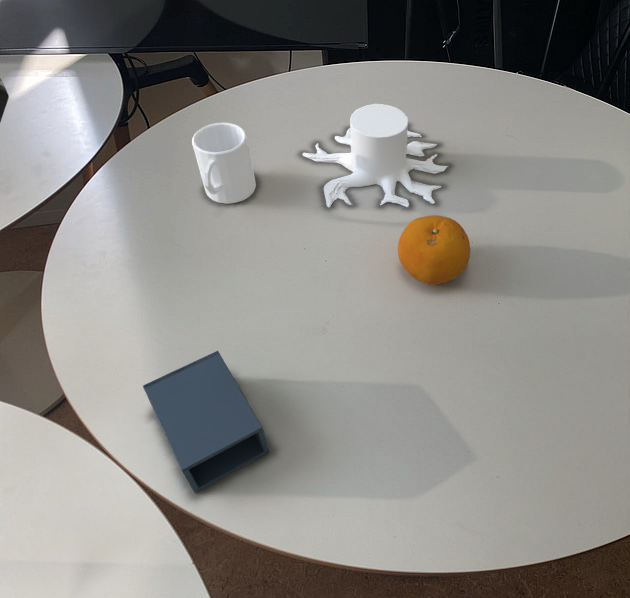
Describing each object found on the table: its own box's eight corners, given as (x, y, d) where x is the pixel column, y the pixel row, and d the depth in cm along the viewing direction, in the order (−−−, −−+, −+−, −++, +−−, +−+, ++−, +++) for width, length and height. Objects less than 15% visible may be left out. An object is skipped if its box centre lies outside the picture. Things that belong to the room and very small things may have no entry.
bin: (142, 385, 67) (181, 470, 61) (217, 350, 71) (262, 427, 65) (157, 411, 72) (195, 493, 66) (227, 377, 76) (269, 451, 69)
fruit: (387, 284, 86) (388, 244, 80) (409, 236, 93) (411, 196, 87) (457, 302, 85) (463, 264, 79) (474, 252, 91) (481, 213, 85)
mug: (190, 217, 94) (174, 166, 86) (214, 170, 102) (202, 119, 94) (241, 223, 94) (229, 172, 86) (261, 175, 101) (252, 124, 94)
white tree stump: (459, 203, 98) (466, 157, 91) (306, 214, 95) (300, 166, 88) (435, 123, 113) (439, 77, 105) (301, 130, 110) (296, 83, 102)
